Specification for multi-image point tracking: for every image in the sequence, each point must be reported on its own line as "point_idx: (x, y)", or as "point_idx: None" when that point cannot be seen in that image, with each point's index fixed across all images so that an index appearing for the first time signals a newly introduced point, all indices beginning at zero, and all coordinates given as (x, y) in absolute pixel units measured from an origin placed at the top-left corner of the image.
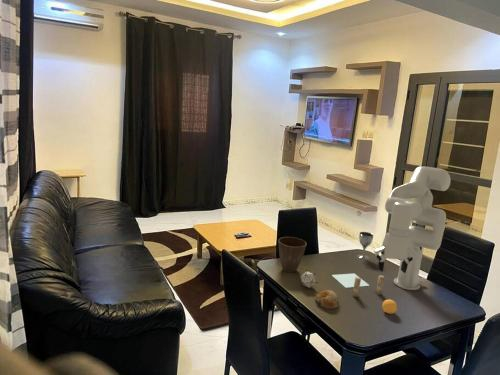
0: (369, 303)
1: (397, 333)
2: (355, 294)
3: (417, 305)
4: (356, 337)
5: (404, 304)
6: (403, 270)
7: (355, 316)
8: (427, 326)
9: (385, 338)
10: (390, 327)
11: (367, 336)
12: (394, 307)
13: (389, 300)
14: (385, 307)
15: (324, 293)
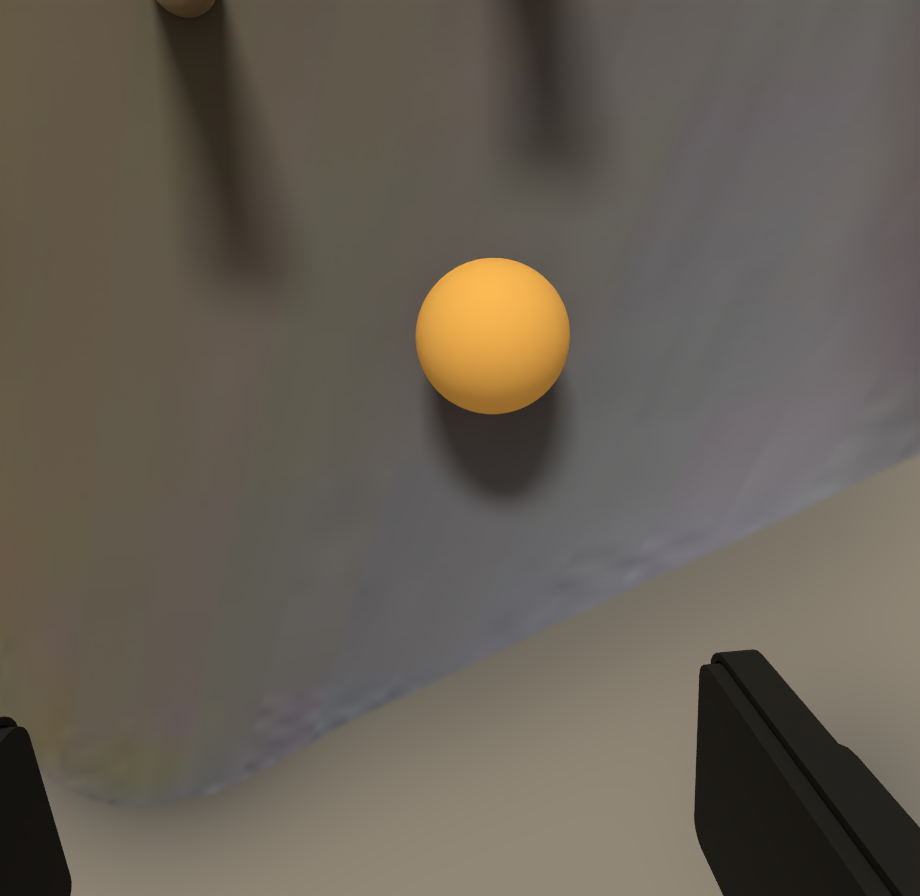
0: (328, 157)
1: (450, 644)
2: (161, 3)
3: (889, 107)
4: (105, 741)
5: (743, 108)
6: (716, 852)
7: (131, 454)
8: (763, 506)
9: (331, 718)
10: (419, 573)
11: (194, 717)
12: (522, 406)
13: (483, 353)
14: (431, 382)
15: None
